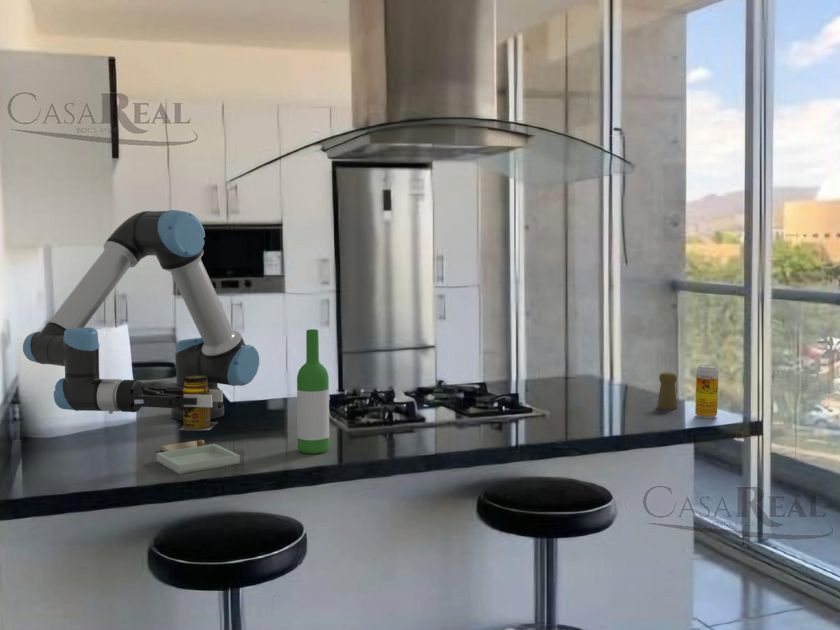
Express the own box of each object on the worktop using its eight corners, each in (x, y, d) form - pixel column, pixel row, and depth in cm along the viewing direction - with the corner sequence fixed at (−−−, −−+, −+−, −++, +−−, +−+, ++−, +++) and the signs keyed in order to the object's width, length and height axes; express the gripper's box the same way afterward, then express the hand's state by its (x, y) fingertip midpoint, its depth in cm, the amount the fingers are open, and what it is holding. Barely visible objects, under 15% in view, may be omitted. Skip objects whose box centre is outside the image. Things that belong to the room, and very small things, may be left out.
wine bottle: (291, 451, 207) (289, 330, 205) (312, 445, 214) (310, 327, 211) (315, 456, 203) (313, 332, 200) (335, 449, 210) (334, 329, 207)
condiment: (177, 430, 193) (176, 378, 192) (188, 422, 201) (187, 373, 200) (209, 431, 193) (208, 379, 192) (218, 423, 201) (217, 373, 200)
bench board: (195, 444, 214) (195, 434, 214) (209, 450, 208) (208, 440, 208) (161, 450, 209) (161, 440, 209) (173, 456, 203) (173, 446, 202)
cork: (679, 409, 259) (680, 374, 258) (659, 409, 259) (660, 374, 258) (674, 405, 265) (675, 371, 264) (654, 405, 265) (655, 370, 264)
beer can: (695, 418, 247) (696, 367, 245) (695, 413, 252) (696, 364, 251) (717, 419, 245) (719, 368, 244) (716, 415, 251) (718, 365, 249)
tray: (215, 451, 207) (214, 443, 207) (239, 463, 197) (239, 455, 196) (156, 461, 198) (156, 453, 198) (179, 474, 188) (179, 465, 187)
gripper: (140, 403, 208) (231, 406, 205) (102, 419, 189) (201, 423, 186) (139, 373, 207) (231, 376, 204) (101, 386, 188) (201, 389, 185)
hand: (216, 398), depth 195 cm, fingers closed on condiment, 6 cm apart
